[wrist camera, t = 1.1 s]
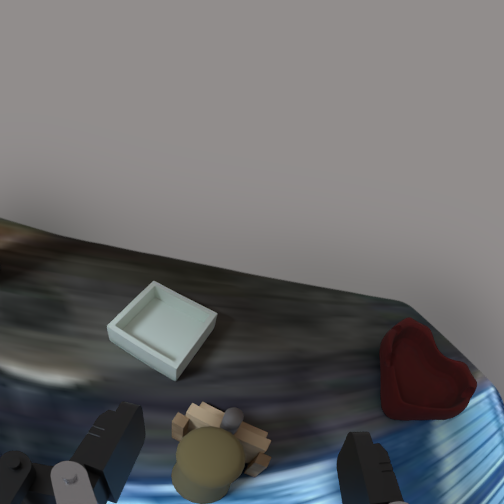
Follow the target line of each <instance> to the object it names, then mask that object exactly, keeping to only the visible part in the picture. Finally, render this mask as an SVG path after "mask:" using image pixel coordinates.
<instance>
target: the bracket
mask: <svg viewBox="0 0 504 504" xmlns="http://www.w3.org/2000/svg"><path fill="white" fill-rule="evenodd" d="M243 419H244V415H243V412H242V411H241V410H240V409H238V408H229V409H227V410H226V412H225V413H224V412H222V411H220V410H218V409H216V408H214V407H212V406H210V405H208V404H206V403H204V402H202V403H201V405H200V406H197V405H195V404H193V403H192V404H191V406H190V407H189V409H188V410H187V412H186V416H184V415H182V414H180V413H179V412H178V413H177V415H176V416H175V418H174V419H173V421H172V438H174V439H176V440H178V441H179V442H180V441H181V440H182V438H183V437H184V436H185V435H186V434H188V433H189V432H190V431H192V430H194V429H197V428H200V427H207V426H213V427H218V428H222V429H224V430H226V431H228V432H231V433H232V434H233V435H234V436H235V437H236V438H237V439H238V440H239V441H240V443H241V445H242V446H243V449H244V453H245V457H246V458H245V463H247V464H248V466H247V468H246V470H245V472H244V473H245V474H248V475H250V476H253V477H256V476H257V475H258V474H259V473H261V472H262V471H263V470H264V469H266V468H267V466H268V464H269V462H270V459H271V456H268V455H266V454H264V453H265V452H266V451H267V449H268V446H269V444H270V442H271V440H269V439H267V438H266V436H267V434H268V432H265V431H263V430H261V429H258V428H256V427H254V426H252V425H249V424H247V423H245V422H243Z"/></svg>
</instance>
